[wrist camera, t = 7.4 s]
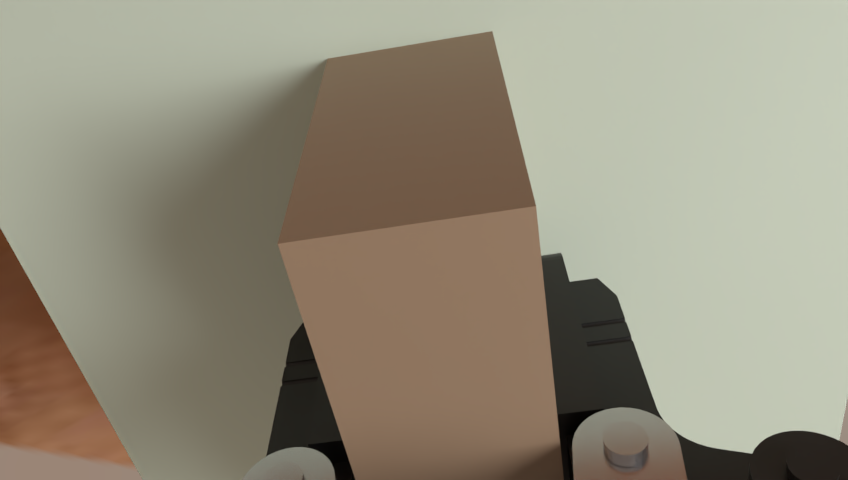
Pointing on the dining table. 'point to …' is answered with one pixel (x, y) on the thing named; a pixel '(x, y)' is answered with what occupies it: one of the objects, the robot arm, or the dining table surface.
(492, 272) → the lid
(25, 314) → the dining table surface
